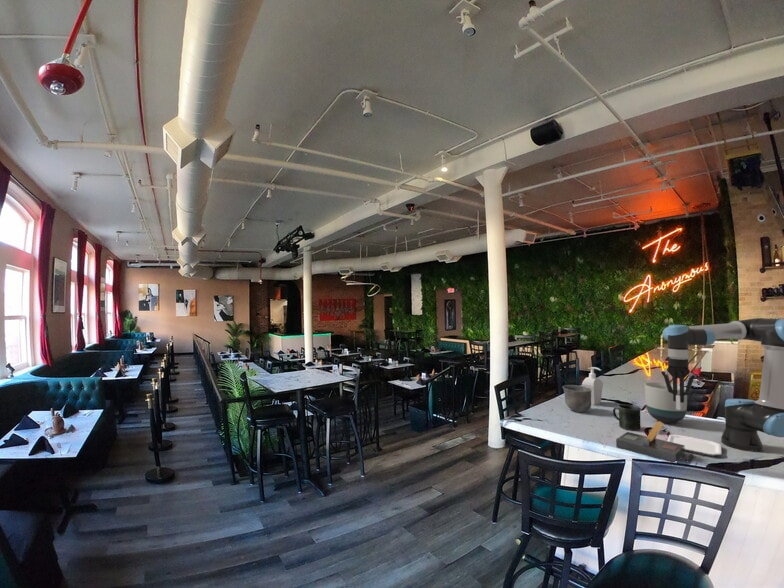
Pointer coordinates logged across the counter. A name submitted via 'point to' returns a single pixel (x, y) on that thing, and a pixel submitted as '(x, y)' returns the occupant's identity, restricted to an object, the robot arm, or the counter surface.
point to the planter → (663, 403)
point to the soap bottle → (594, 386)
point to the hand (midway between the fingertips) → (678, 409)
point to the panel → (651, 447)
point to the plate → (697, 445)
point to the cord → (689, 457)
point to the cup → (577, 397)
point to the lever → (655, 431)
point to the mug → (628, 417)
